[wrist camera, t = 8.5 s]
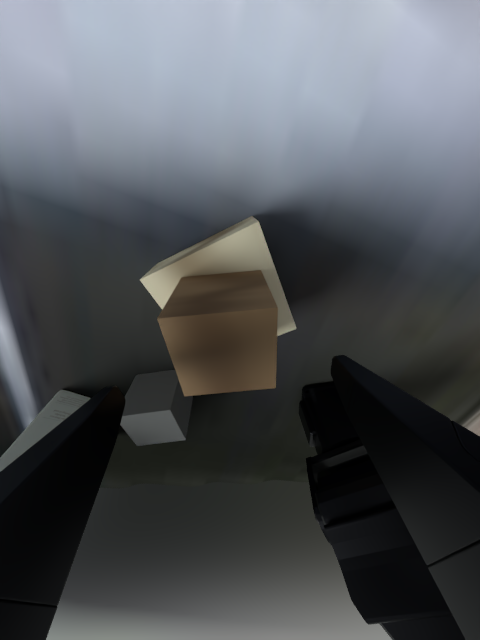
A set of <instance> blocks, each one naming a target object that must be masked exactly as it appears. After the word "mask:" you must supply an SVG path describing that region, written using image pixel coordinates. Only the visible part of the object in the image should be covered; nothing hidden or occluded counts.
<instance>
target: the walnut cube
mask: <svg viewBox="0 0 480 640" xmlns="http://www.w3.org/2000/svg"><path fill="white" fill-rule="evenodd" d="M157 319H158V322H159V325H160V328H161V331H162V334H163V336H164V339H165V342H166V345H167V348H168V351H169V354H170V356H171V359H172V362H173V365H174V368H175V371H176V374H177V376H178V379H179V382H180V385H181V388H182V391H183V394H184V396H194V395H205V394H216V393H227V392H237V391H248V390H259V389H270V388H276V358H277V322H278V307H277V304H276V302H275V300H274V298H273V296H272V293H271V291H270V289H269V287H268V284H267V282H266V280H265V278H264V276H263V273H262V271H261V270H254V271H243V272H232V273H221V274H210V275H199V276H189V277H181V279H180V281H179V282H178V284H177V286H176V287H175V289H174V291H173V293H172V294H171V296H170V298H169V299H168V301H167V303H166V305H165V306H164V308H163V310H162V311H161V313H160V315H159V317H158V318H157Z"/></svg>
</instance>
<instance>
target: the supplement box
mask: <svg viewBox="0 0 480 640" xmlns="http://www.w3.org/2000/svg"><path fill="white" fill-rule="evenodd" d="M90 399H91V398H89V397H86V396H83V395H79V394H76V393H73V392H70V391H66V390H60V391H59V392H58V393H57V394H56V395H55V396H54V397H53V398H52V399H51V401H50V402H49V403H48V404H47V405H46V406H45V407H44V409H43V410H42V411H41V412H40V413H39V414H38V415H37V416H36V418H35V419H34V420H33V421H32V422H31V423H30V425H29V426H28V427H27V428H26V429H25V430H24V431H23V433H22V434H21V435H20V436H19V437H18V438H17V439H16V441H15V442H14V443H13V444H12V445H11V446H10V447H9V449H8V450H7V451H6V452H5V453H4V454H3V456H2V457H1V458H0V472H1V471H2V470H3V469H4V468H6V467H7V466H8V465H9V464H10V463H12V462H13V461H14V460H15V459H17V458H18V457H19V456H20V455H22V454H23V453H24V452H25V451H27V450H28V449H29V448H30V447H32V446H33V445H34V444H35V443H36V442H38V441H39V440H40V439H41V438H43V437H44V436H45V435H46V434H48V433H49V432H50V431H51V430H53V429H54V428H55V427H56V426H58V425H59V424H60V423H61V422H62V421H64V420H65V419H66V418H67V417H69V416H70V415H71V414H72V413H74V412H75V411H76V410H77V409H79V408H80V407H81V406H82V405H84V404H85V403H86V402H87V401H88V400H90Z"/></svg>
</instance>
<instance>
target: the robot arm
mask: <svg viewBox="0 0 480 640" xmlns="http://www.w3.org/2000/svg"><path fill="white" fill-rule="evenodd" d="M331 376H332V378H333V381H334V383H327V384H319V385H312V386H305V387H303V389H302V401H300V403H299V415H300V419H301V422H302V425H303V428H304V431H305V434H306V437H307V440H308V443H309V445H310V446H311V447H314V446H315V448H316V451H317V454H318V455H316V456H314V457H308V458H306V463H307V472H308V479H309V485H310V491H311V497H312V503H313V509H314V514H315V518H316V520H317V522H318V523H319V524H320V527H321V529H322V531H323V533H324V535H325V537H326V539H327V540H328V542H329V543H330V544H331V545H332V547H333V549H334V551H335V554H336V557H337V559H338V562H339V565H340V567H341V570H342V573H343V576H344V579H345V582H346V585H347V588H348V591H349V594H350V597H351V600H352V602H353V603H354V605H355V606H356V608H357V610H358V611H359V613H360V614H361V615H362V617H363V619H364V620H365V621H366V623H368V624H377V623H379V624H380V625H381V626H382V627H383V628H384V630H385V631H386V632H387V633H388V635H389V636H390V637H391V638H392V640H480V436H478V435H476V434H475V433H473V432H471V431H469V430H468V429H466V428H464V427H463V426H461V425H459V424H458V423H456V422H455V421H451V420H450V419H449V418H448V417H446V416H444V415H443V414H441V413H439V412H438V411H436V410H434V409H433V408H431V407H430V406H428V405H426V404H425V403H423V402H421V401H420V400H418V399H416V398H415V397H413V396H411V395H410V394H408V393H406V392H405V391H403V390H401V389H400V388H398V387H396V386H395V385H393V384H391V383H390V382H388V381H386V380H385V379H383V378H382V377H380V376H378V375H377V374H375V373H373V372H372V371H370V370H368V369H367V368H365V367H363V366H362V365H360V364H358V363H357V362H355V361H353V360H352V359H350V358H348V357H347V356H345V355H339V356H334V357H333V359H332V365H331ZM125 403H126V399H125V397H124V395H123V394H122V392H121V391H120V390H119V388H118V387H117V386H109V387H105V388H103V389H102V390H101V391H100V392H98V393H97V394H96V395H95V396H93V397H92V398H91V399H90V400H88V401H87V402H86V403H85V404H84V405H82V406H81V407H80V408H79V409H77V410H76V411H75V412H74V413H72V414H71V415H70V416H69V417H67V418H66V419H65V420H64V421H62V422H61V423H60V424H59V425H58V426H56V427H55V428H54V429H53V430H51V431H50V432H49V433H48V434H46V435H45V436H44V437H43V438H41V439H40V440H39V441H38V442H36V443H35V444H34V445H33V446H32V447H30V448H29V449H28V450H27V451H25V452H24V453H23V454H22V455H20V456H19V457H18V458H17V459H15V460H14V461H13V462H12V463H10V464H9V465H8V466H7V467H6V468H4V469H3V470H2V471H1V472H0V640H46V638H47V634H48V632H49V629H50V626H51V623H52V621H53V618H54V615H55V612H56V610H57V605H58V603H59V601H60V597H61V595H62V592H63V589H64V586H65V584H66V581H67V578H68V575H69V572H70V570H71V566H72V564H73V561H74V558H75V555H76V553H77V550H78V547H79V544H80V541H81V538H82V536H83V533H84V530H85V527H86V524H87V521H88V519H89V515H90V513H91V510H92V507H93V505H94V502H95V499H96V496H97V493H98V491H99V488H100V485H101V482H102V479H103V476H104V474H105V471H106V468H107V465H108V462H109V460H110V457H111V454H112V451H113V448H114V445H115V442H116V439H117V435H118V431H119V428H120V424H121V420H122V416H123V412H124V408H125Z"/></svg>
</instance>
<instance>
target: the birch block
mask: <svg viewBox="0 0 480 640" xmlns="http://www.w3.org/2000/svg"><path fill="white" fill-rule="evenodd" d="M254 270H261V271H262V273H263V276H264V278H265V280H266V282H267V284H268V287H269V289H270V291H271V293H272V296H273V298H274V300H275V302H276V304H277V307H278V322H277V336H279V335H281V334H284V333H287V332H289V331H292V330H295V329H297V328H296V325H295V323H294V320H293V317H292V314H291V311H290V308H289V306H288V303H287V300H286V297H285V294H284V291H283V289H282V286H281V283H280V280H279V277H278V275H277V272H276V269H275V266H274V263H273V260H272V258H271V255H270V252H269V249H268V246H267V243H266V241H265V238H264V235H263V232H262V229H261V226H260V224H259V221H258V220H256V219H255V218H254V217H252V216H251V217H249V218H247V219H245V220H243V221H241V222H239V223H237V224H235V225H233V226H231V227H229V228H227V229H225V230H223V231H221V232H219V233H217V234H215V235H213V236H211V237H209V238H207V239H205V240H203V241H201V242H199V243H197V244H195V245H193V246H191V247H189V248H187V249H185V250H183V251H181V252H179V253H177V254H175V255H173V256H171V257H169V258H167V259H165V260H163V261H161V262H159V263H157V264H156V265H155V266H154V267H153V268H152V269H151V270H150V271H149V272H148V273H146V274H145V275H144V276H143V277H142V278H141V279H140V281H141V282H142V283H143V285H144V286H145V287H146V289H147V290H148V291H149V293H150V294H151V295H152V297H153V298H154V299H155V301H156V302H157V303H158V304H159V306H160V307H161V308H162V310H163V308H164V306H165V305H166V303H167V301H168V299H169V298H170V296H171V294H172V293H173V291H174V289H175V287H176V286H177V284H178V282H179V281H180V279H181V277H189V276H199V275H210V274H221V273H232V272H243V271H254Z"/></svg>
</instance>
